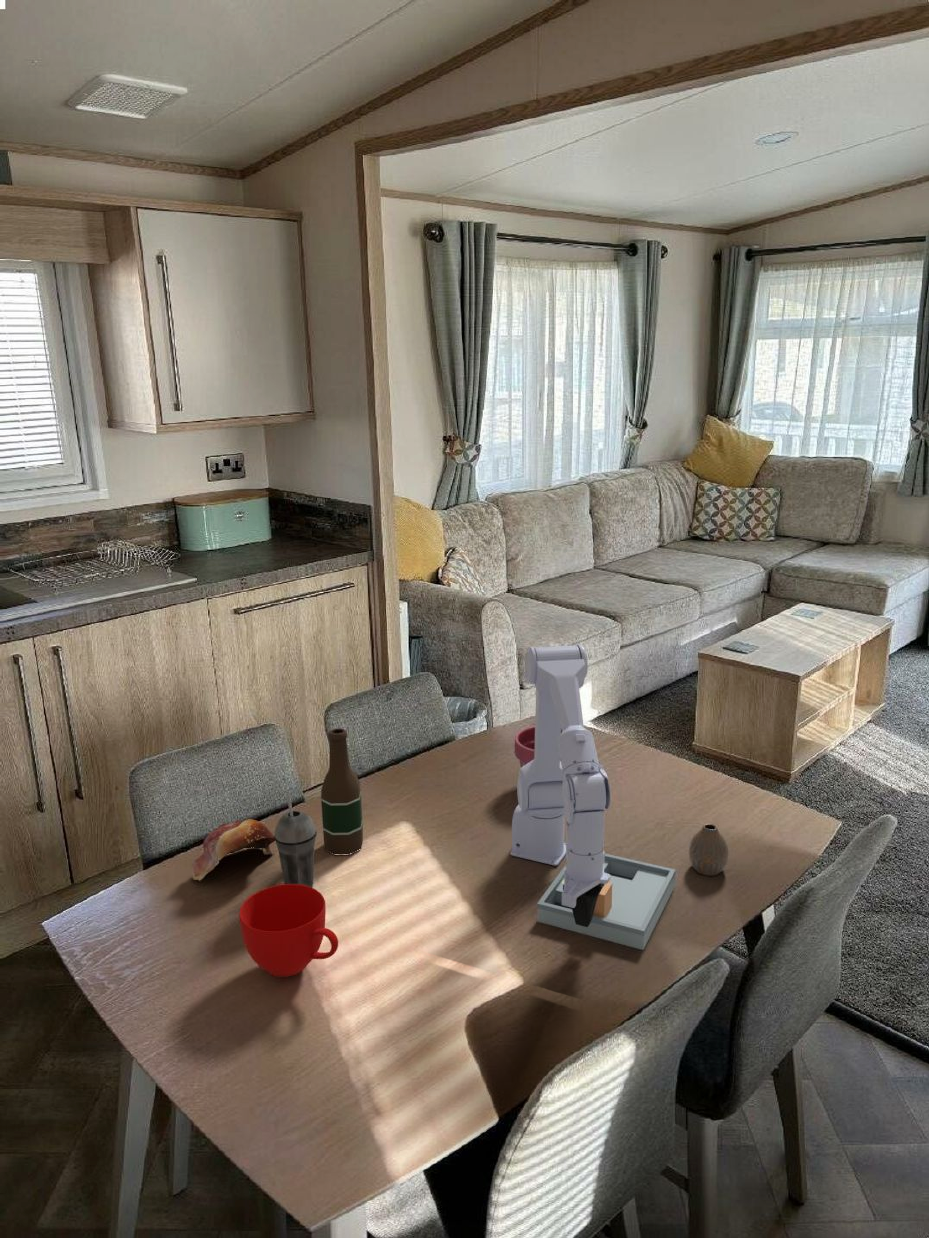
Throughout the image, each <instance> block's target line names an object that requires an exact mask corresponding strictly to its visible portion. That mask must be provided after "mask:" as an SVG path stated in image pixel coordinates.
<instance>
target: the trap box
mask: <svg viewBox="0 0 929 1238" xmlns="http://www.w3.org/2000/svg"><path fill="white" fill-rule="evenodd" d="M565 868H566V864H565V865H564V866H563V868H562V869H561V870H560V872H559V873H558V875H557V876H556V877H555V878H554V880H553V881H552V883H551V884H550V885H549V887H548V888H547V889H546V891H545V892H544V893H543V895H542V896H541V898H540V899H539V900H538V901H537V903H536V907H537V908H536V909H537V912H536V922H537V923H542V924H545V925H549V926H552V927H556V928H560V929H563V930H564V929H565V930H568V931H572V932H575V933H579V934H581V935H586V936H589V937H592V938H593V937H594V938H597V939H602V940H604V941H609V942H612V943H615V944H620V945H623V946H627V947H630V948H635V949H638V950H642V951H644V949H645V948H646V947H647V944H648V941H649V939H650V937H651V935H652V933H653V932H654V930H655V927H656V926H657V923H658V921H659V920H660V917H661V915H662V913H664V909H665V908H666V905H667V903H668V901H669V899H670V898H671V896H672V895H671V894H672V893H673V891H674V889H675V887H676V872H677V871H676V869H675V868H671V867H666V866H661V865H658V864H653V863H648V862H646V861H645V862H644V861H641V860H640V861H639V860H635V859H632V858H627V857H622V856H617V855H613V854H608V853H605V862H604V872H605V873H607V874H610V880H609V882H610V883H612V907H611V909H610V911H609V913H608V914H607V916H606V918H603V917H599V916H595V915H593V917H592V920H591V923H590V925H589V926H588V927H584V926H580V925H577V924H576V923H575V919H574V915H573V911H572V908H571V907H568V906H564V905H562V893H563V885H564V871H565Z"/></svg>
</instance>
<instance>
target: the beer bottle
mask: <svg viewBox="0 0 929 1238" xmlns="http://www.w3.org/2000/svg"><path fill="white" fill-rule="evenodd" d="M348 736H349V734H348V732H347V730H346V729H344V728H334V729H331V730H329V732H328V735H327V739H329V764H328V765H329V767H328V772H327V773H326V775H324V779H323V783H322V786H321V790H320V801H321V802H320V803H321V817H322V835H323V836H322V837H323V846H324V850H325V849H326V850H328V851H329V852H328V851H327V852H328V853H330V852H331V853H333V854H350V853H353V852H355V851H357V850H359V849H361V850H362V846H363V841H364V829H363V826H364V825H363V824H364V823H363V808H362V790H361V782H360V780H359V778H358V775H357V773H355V772H354V770H352V767H351V763H350V759H349V757H350V756H349V749H348V748H349V747H348V742H347V741H348V740H347V738H348ZM326 850H325V851H326ZM359 851H360V850H359ZM357 852H358V851H357ZM331 853H330V854H331ZM355 853H356V852H355ZM333 854H332V855H333ZM353 854H354V853H353Z"/></svg>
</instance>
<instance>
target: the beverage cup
mask: <svg viewBox="0 0 929 1238" xmlns="http://www.w3.org/2000/svg"><path fill="white" fill-rule="evenodd" d="M286 798H287V804H288V810H289V811H288V812H286V813H284V814H283V815H282V816H281V817H280V818H279V819H278V820H277V823H276V825H275V828H274V834H273V835H274V839H275V841H274V842H275V845H276V849H277V851H278V856H279V861H280V867H281V871H282V873H281V874H282V878H283V879H282V880H283V885H284V884H299V885H305V886H309V887H312V888H313V887H314V872H315V871H314V866H315V862H314V861H315V844H316V837H317V833H318V832H317V830H316V829H317V828H316V826H315V823H314V821H313V819H312V817H311V816H309V815H308V814H307V813H305V812H303V811H300V810H293V806H292V798H291V794H290V791H287V792H286Z"/></svg>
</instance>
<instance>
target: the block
mask: <svg viewBox="0 0 929 1238" xmlns="http://www.w3.org/2000/svg"><path fill="white" fill-rule="evenodd" d="M611 907H612V883H610V882H608V883H607V884H605V885H604V886H603V888H602V890H601V892H600V894H599V896H598V899H597V902H596V905H595V909H594V913H593V915H595V916H599V917H603V918H606V916H607V914H608V913H609V911H610V909H611Z"/></svg>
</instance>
